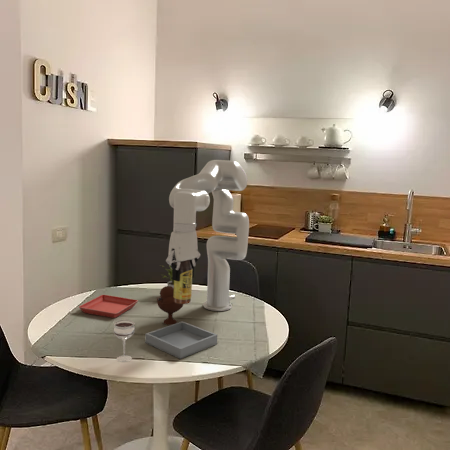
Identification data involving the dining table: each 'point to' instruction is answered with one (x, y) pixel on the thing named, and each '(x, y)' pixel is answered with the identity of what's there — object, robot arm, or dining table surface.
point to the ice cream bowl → (168, 304)
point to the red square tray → (108, 306)
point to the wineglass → (124, 335)
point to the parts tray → (181, 339)
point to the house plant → (170, 278)
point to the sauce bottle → (183, 284)
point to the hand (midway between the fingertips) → (183, 278)
